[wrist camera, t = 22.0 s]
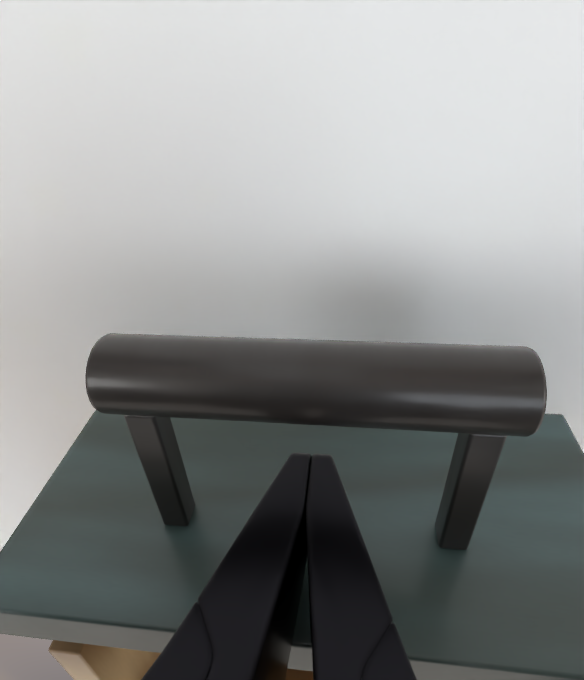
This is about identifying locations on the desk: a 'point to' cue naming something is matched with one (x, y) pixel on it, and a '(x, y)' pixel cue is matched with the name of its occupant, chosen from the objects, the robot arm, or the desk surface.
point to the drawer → (358, 481)
